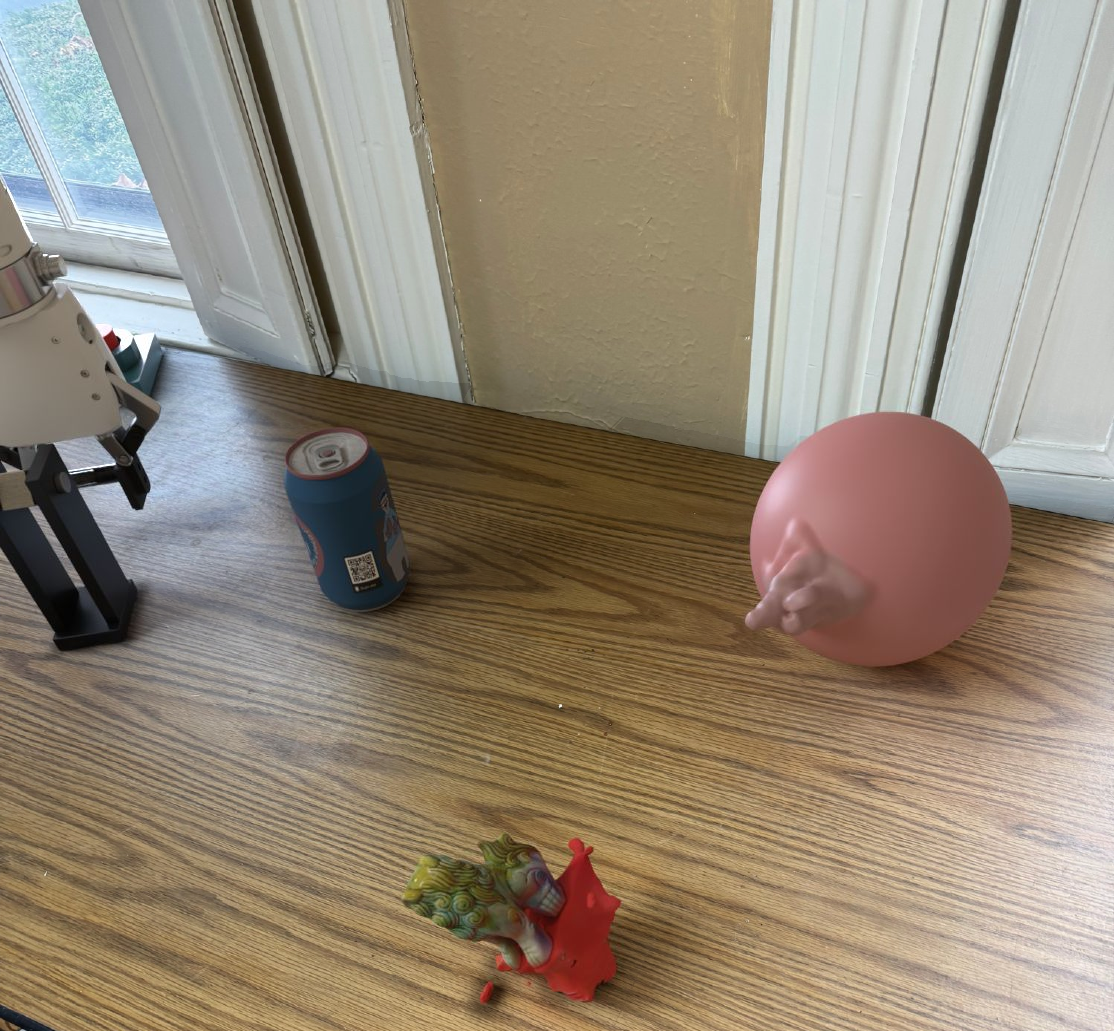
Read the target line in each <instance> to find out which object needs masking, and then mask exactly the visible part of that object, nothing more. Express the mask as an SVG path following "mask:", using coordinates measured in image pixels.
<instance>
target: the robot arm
mask: <svg viewBox="0 0 1114 1031" xmlns="http://www.w3.org/2000/svg"><path fill="white" fill-rule="evenodd" d="M67 276H68V268H67V265H66V262H65V260H64V258H63V256H61V254H57V255H50V254H44V253H43V250H41V247H40V245H39V242H38V241H35V242H34V240H33V238H32V235H31V234H30V231H29V229H28V227H27V226H26V223H25V221H24V218H23V217H22V214H21V212H20V210H19V208H18V206H17V204H16V202H15V200H14V197H13V195H12V193H11V192H10V189H9V187H8V185H7V182H6V181H5V179H4V177H3V174H2V172H1V171H0V460H1V462H2V463H4V464H6V465H9V466H10V467H13V468H15V469H17V470H18V471H19V470H26V469H30V466H31V464H32V462H33V459H34V457H35V454H36V452H37V450H38V447H39V445H44V444H50V443H60V442H66V441H72V440H79V439H86V438H91V437H94V438H95V440H96V441H97V442H98V444H100V445H101V446H102V447H103V449H104V450H105V451H106V452H107V453H108V454H109V456H111V458H112V459H113V461H114V462H115V463H114V464H115V467H114V473H115V475H116V477H117V479H118V481H119V482H118V483H119V485H120V487H121V489H122V491H123V493H124V495H125V496H126V500H127V501H128V503H129V505H130V507H131V509H132V510H135V511H142V510H144V507H145V505H146V504H145V503H146V501H147V497H148V494H150V493H151V489H152V488H151V481H150V478H149V476H148V474H147V472H146V470H145V467H144V466H143V463H142V461H141V459H140V456H139V455H138V452H139V450H140V447H141V446H142V444H143V442H144V440H145V438H146V436H147V435H148V434H149V433H150V432H151V430H152V429H153V428H154V426H155V425H156V424H157V422H158V421H159V419H160V417H161V414H162V409H163V408H162V404H160V403H159V402H158V401H157V400H155V399H153V398H152V397H149V396H147V395H146V394H144V393H143V392H141V391H139V390H138V389H136V388H135V387H133V386H132V385H130V384H129V383H127V382H126V380H125V378H124V376H123V374H122V372H121V370H120V368H119V366H118V364H117V362H116V360H115V359H114V357H113V355H112V353H111V351H110V349H109V348H108V346H107V344H106V342H105V341H104V339H103V337H102V335H101V334H100V332H99V330H98V329H97V327H96V326H95V324H96V323H94V321H93V319H92V318H91V316H90V314H89V313H88V311H87V310H86V309H85V307H84V306H83V304H82V303H81V301H80V300H79V299H78V296H76V294H75V293H74V292H73V291H72V289H71V288H70V286H69V285H68V284H67V283H66V282H63V281H56V280H58V279H59V278H63V277H67ZM55 281H56V282H55ZM122 407H124V408H125V409H127V410H129V411H130V412H132V413H133V414H134V415H135V416H134V418H132V420H131V421H130V423H129V425H128V426H127V425H126V424H125V423H124V421H123V418H122V414H121V411H120V409H121V408H122Z"/></svg>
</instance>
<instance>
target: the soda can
mask: <svg viewBox="0 0 1114 1031" xmlns="http://www.w3.org/2000/svg"><path fill="white" fill-rule="evenodd" d="M284 464H285V471H284V475H283V488H284V490H285V493H286V496H287V499H288V501H289V505H290V507H291V510H292V512H293V516H294V518H295V521H296V524H297V527H298V529H299V532H300V535H301V538H302V541H303V543H304V547H305V549H306V552H307V554H308V557H309V560H310V563H311V565H312V569H313V572H314V574H315V577H316V580H317V583H318V586H319V588H320V591H321V592H322V593H323V595H324V596H325V597H326V598H327V599H328V600H329V601H331V602H332V603H334V604H336V606H339V607H341V608H342V609H343V610H346V611H349V612H355V613H366V612H373V611H377V610H381V609H382V608H385V607H387V606H389V605H390V604H392V603H393V602H394V601H396V600H397V599H398V598H399V597H400V596H401V595H402V593H403V591H404V589H405V587H406V585H407V583H408V581H409V578H410V575H411V569H412V568H411V560H410V558H409V554H408V550H407V546H406V542H405V539H404V535H403V532H402V528H401V524H400V520H399V517H398V513H397V509H396V506H395V502H394V498H393V495H392V490H391V487H390V483H389V480H388V475H387V473H386V469H385V465H384V461H383V459H382V457H381V456H380V454H379V453H378V452H377V451H376V450H375V448H373V447H372V446H371V445H370V443H369V440H368V438H367V437H366V435H364V434H363V433H362V432H361V431H359V430H356V429H353V428H350V427H329V428H322V429H319V430H315V431H312V432H309V433H307V434H305V435H303V436H302V437H300V438H298V440H296V441H295V442H294V443H292V444H291V445H290V446H289V447H288V449H287V450H286V452H285V455H284Z"/></svg>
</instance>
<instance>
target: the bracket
mask: <svg viewBox="0 0 1114 1031" xmlns="http://www.w3.org/2000/svg"><path fill="white" fill-rule="evenodd" d="M54 443H55V442H54ZM54 443H47V444H44V445H39V447H38V450H37V452H36V454H35V457H34V459H33V462H32V464H31V466H30V469H29V471H28V474H27V476H26V478H25V481H24V483H25V484H26V486H27V488H28V489H29V491H30V493H31V495H32V496H33V498H34V500H35V501H36V503H37V505H38V506H37V507H38V508H39V510H40V512H41V514H42V515H43V517H44V518H45V520H46V522H47V523H48V526H49V527H50V529H51V530H52V532H53V534H54V536H55V537H56V539H57V541H58V543H59V544H60V546H61V547H62V550H63V552H64V553H65V555H66V556H67V558H68V560H69V562H70V563H71V564H72V568H74V570H75V572H76V573H77V575H78V577H79V578H80V580H81V582H82V583H83V585H82V586H76V585H75V583H74V582H73V580H72V578H71V576H70V575H69V573H68V571H67V570H66V568H65V567H64V565H63V563H62V561H61V560H60V558H59V556H58V555H57V553H56V551H55V550H54V548H53V546H52V545H51V543H50V541H49V540H48V537H47V535H46V534H45V532H44V531H43V529H42V528H41V526H40V525H39V524H40V523H39V522H38V520H37V519H36V518H35V516H34V514H33V513H32V511H31V509H30V507H27V508H20V509H14V510H7V511H3V509H2V506H1V503H0V549H1V551H2V553H3V554H4V556H5V558H6V559H7V561H8V562H9V564H10V565H11V567H12V568H13V570H14V571H15V574H16V575H17V576H18V578H19V579H20V581H21V582H22V584H23V586H24V587H25V589H26V590H27V592H28V593H29V595H30V596H31V598H32V600H33V601H34V603H35V604H36V606H37V607H38V609H39V611H40V612H41V613H42V616H43V617H44V618H45V620H46V622H47V623H48V625H49V626H50V628H51V629H52V631H53V636H52V642H53V643H54V644H55V646H56V648H57V649H58V651H59V652H62V651H68V650H76V649H81V648H83V649H84V648H88V647H95V646H101V645H108V644H114V643H121V642H122V643H123V642H125V641H126V638H127V634H128V630H129V627H130V622H131V618H132V614H133V611H134V607H135V603H136V599H137V595H138V591H139V589H138V588H137V586H136V584H135V582H134V581H133V579H132V578H127V577H126V574H125V573H124V571H123V570H122V567H121V565H120V564H119V561H118V560H117V558H116V556H115V554H114V553H113V551H112V549H111V547H110V545H109V543H108V541H107V540H106V538H105V536H104V534H103V532H102V530H101V528H100V526H99V524H98V523H97V521H96V519H95V518H94V516H93V514H92V512H91V510H90V508H89V506H88V504H87V502H86V501H85V498H84V497H83V495H82V493H81V491H80V490H79V488H77V486H76V484H75V482H74V480H73V479H72V477H71V475H70V473H69V471H70V470H68V467H67V465H66V463H65V462H64V460H63V458H62V456H61V455H60V453H59V451H58V449H57V447H56V446H55V444H54ZM6 472H8V471H7V468H6V466H5V465H4V464H3V462H2V461H1V460H0V473H6Z"/></svg>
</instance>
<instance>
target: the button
mask: <svg viewBox="0 0 1114 1031" xmlns="http://www.w3.org/2000/svg"><path fill="white" fill-rule="evenodd" d="M94 324H95V326H96V327H97V329H98V330H99V332H100V334H101V335H102V337H103V339H104V341H105V342H106V344H107V346H108V348H109V349H110V351H113V350H114V349H115V348H117V347H118V346H119V342H118V339H117V337H116V335H115V333H114V330H113V329H114V328H113V326H112V325H111V324H109V323H94Z"/></svg>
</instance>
